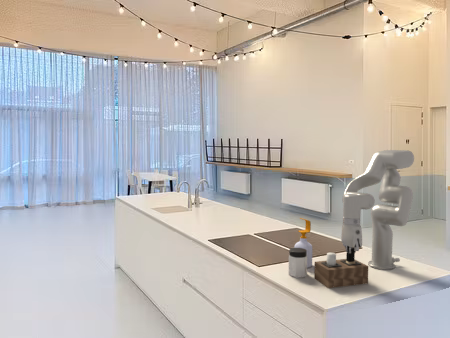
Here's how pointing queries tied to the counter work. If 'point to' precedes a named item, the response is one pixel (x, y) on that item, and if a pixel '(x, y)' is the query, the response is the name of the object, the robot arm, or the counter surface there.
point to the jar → (297, 262)
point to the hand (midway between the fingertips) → (350, 261)
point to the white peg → (331, 259)
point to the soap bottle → (305, 242)
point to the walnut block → (341, 273)
